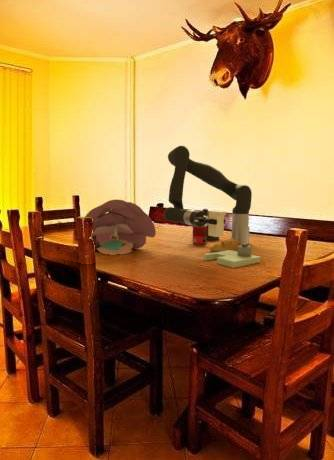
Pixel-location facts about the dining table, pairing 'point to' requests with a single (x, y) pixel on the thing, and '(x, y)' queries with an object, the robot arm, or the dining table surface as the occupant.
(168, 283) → the dining table surface
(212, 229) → the beige bar
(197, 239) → the canned food
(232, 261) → the deck
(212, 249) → the croissant
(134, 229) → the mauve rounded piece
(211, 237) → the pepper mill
